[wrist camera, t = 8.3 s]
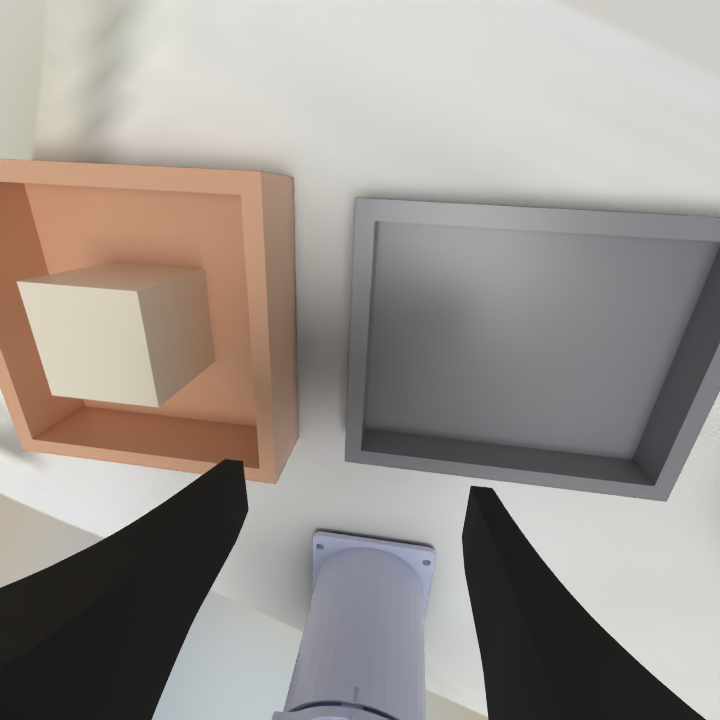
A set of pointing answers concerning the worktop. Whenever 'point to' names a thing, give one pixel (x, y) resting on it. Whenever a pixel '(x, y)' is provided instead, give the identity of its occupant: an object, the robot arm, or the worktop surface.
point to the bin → (164, 248)
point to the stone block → (120, 330)
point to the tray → (532, 343)
